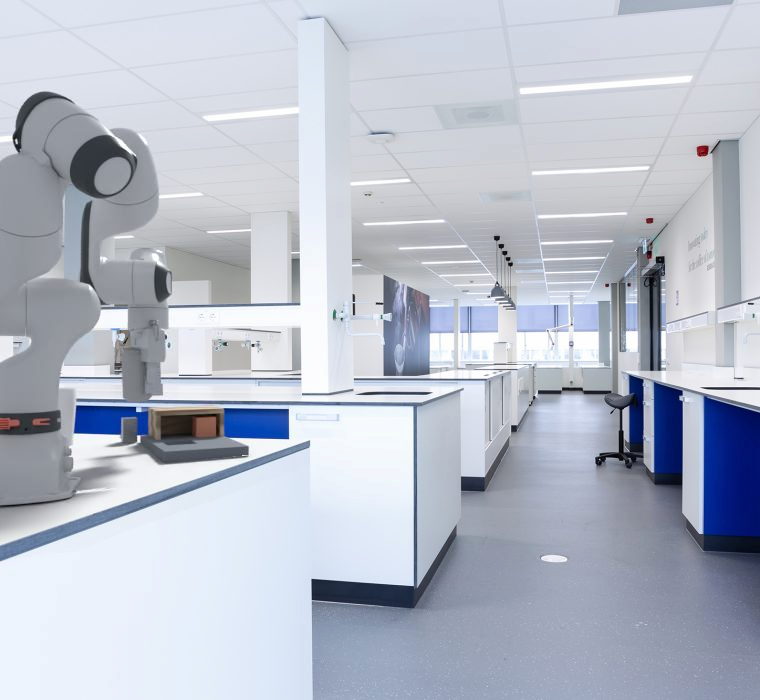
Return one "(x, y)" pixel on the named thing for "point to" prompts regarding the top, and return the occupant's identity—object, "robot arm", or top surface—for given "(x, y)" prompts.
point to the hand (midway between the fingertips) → (148, 382)
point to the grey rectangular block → (155, 387)
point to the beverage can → (133, 376)
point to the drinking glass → (67, 412)
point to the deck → (192, 447)
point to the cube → (203, 426)
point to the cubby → (181, 419)
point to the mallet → (129, 430)
